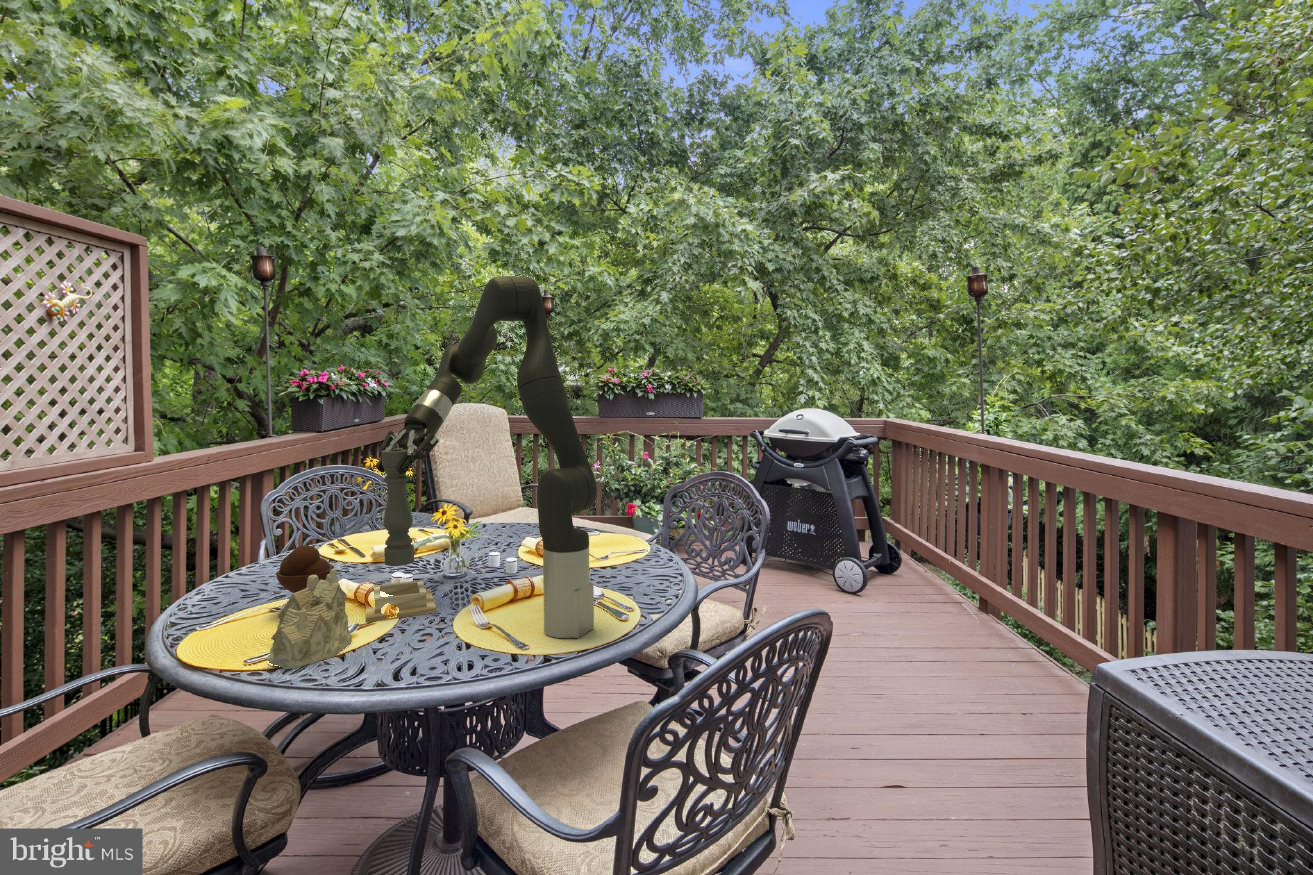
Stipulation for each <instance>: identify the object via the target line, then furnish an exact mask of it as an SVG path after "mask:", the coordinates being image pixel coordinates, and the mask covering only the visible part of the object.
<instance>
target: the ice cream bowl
mask: <svg viewBox="0 0 1313 875" xmlns="http://www.w3.org/2000/svg"><path fill="white" fill-rule="evenodd" d="M334 567H335V566H334V565H333V564H331V563H329V561H327V560H326V559H324V558H322V557H321V555H320V551H319V550H318V548H316V547H314V546H311V545H303V544H302V545H300V546H297V547H295V548H294V549H293V550H292V551H291V552H290V553H289V554H287V555H286V556H285V557H283V559H282V560H281V563H280V564H279V570H278V571H277V572H275V576H276V580H277V582H278V583H279V585H280V586H282V587H283V588H284V589H285V590H287V591H288V592H290V593H291V594H293V593H296V592H299V591H301V590H304V589H306V588H307V580H308V577H309V576H311V575H317V576H318V578H319V581H320V580H326V577H327V575H328V574H330V570H331V569H334Z"/></svg>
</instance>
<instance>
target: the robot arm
mask: <svg viewBox="0 0 1313 875" xmlns="http://www.w3.org/2000/svg"><path fill="white" fill-rule="evenodd" d="M500 321H501V322H522V323H523V325H524V329H525V334H526V347H525V351H524V355H523V357H522V359H521V362H520V365H519V368H518V372H517V375H516V385H517V386H516V387H517V391H518V394H519V397H520V398H519V399H520V401H521V405H522V409H523V411H524V414H525V416H526V417H527V418H528V419H529V421H530V422H531V424H532V425H533V426H534V428H536V430H537V431H538V432H539V433H540V434H541V435H542V436H543V437H544V439H545V440H546V441H547V442H548V444H549V445H550V447H551V448H552V450H553V452H554V454H555V457H556V459H557V462H558V463H557V464H558V466H559V468H553V469H548V470H546V471H544V472H543V473H542V474H541V475H540V477H539V480H538V483H537V486H536V487H537V488H536V489H537V490H536V491H537V492H536V501H537V502H536V503H537V505H536V506H537V514H538V518H537V520H538V529H539V533H540V537H541V540H542V556H543V557H542V558H543V559H542V560H543V562H542V564H543V565H542V566H543V567H542V568H543V569H542V570H543V574H542V576H543V578H542V579H543V582H542V583H543V631H544V633H545V635H547V636H548V637H552V638H557V639H570V638H574V639H579V638H581V637H582V636H584V635H585V634H587V633H589V632H590V631H592V630H594V628H595V622H594V620H595V617H594V616H595V614H594V613H595V607H594V606H595V605H594V598H595V597H594V594H595V593H594V592H595V591H594V590H595V588H594V587H595V586H594V583H593V582H590V535H589V533H588V532H587V531H586V530H584V529H581V528H579V527H578V528H577V527H575V526H574V523H573V521H574V520H573V513H577V512H582V511H586V510H588V509H591V508H592V507H593V506H594V505H595V503H596V500H597V496H598V487H597V481H596V477H595V473H594V472H593V469H592V467H591V464H590V462H589V459H588V457H587V455H586V451H585V449H584V447H583V444H582V441H581V439H580V436H579V433H578V430H577V427H576V423H575V420H574V418H573V414H572V410H571V406H570V404H569V399H568V395H567V390H566V388H565V384H564V381H563V378H562V375H561V372H560V369H559V366H558V362H557V359H556V355H555V351H554V348H553V344H552V340H551V336H550V330H549V325H548V321H547V315H546V310H545V304H544V299H543V296H542V293H541V289H540V287H539V285H538V283H537V281H536V280H535V279H534V278H532V277H529V276H515V275H514V276H512V275H510V276H509V275H508V276H507V275H500V276H495V277H492V278H490V279H489V280H488V281H487V283H486V284H485V286H484V288H483V290H482V293H481V296H480V298H479V302H478V304H477V307H476V310H475V313H474V317H473V320H472V323H471V325H470V327H469V328H468V330H467V331H466V332H465V334H464V336H463V337H462V339H461V340H460V342H459V344H456V343H455V344H451V345H449V346H448V347H446V348H445V349H444V351H443V353H442V355H441V358H440V361H439V366H438V370H437V372H436V374H435V376H434V378H433V379H432V381H431V383H430V384H429V386H428V387H427V389H426V390H425V391H424V392H423V393H422V394H421V396H419V398H418V399H417V401H416V402H415V404H414V405H413V407H412V408H411V409H410V410H409V412H408V414H407V415H406V416H405V418H404V419H403V420H404V422H403V423H404V426H403V427H402V429H400V430H399V431H398V432H394V431H393V430H389V431H388V433H387V434H386V435H385V438H384V439H383V440H382V441H383V442H382V443H381V444H380V447H379V449H378V451H379V452H380V453H381V454H382V451H383V450H392V449H407V450H408V451H407V456H404V458H403V459H402V461H401V462H400V463H399V465H398V466H397V471H398V472H399V473H400V474H403V475H404V474H405V473H406V474H407V472H408V471H409V470H410V468H411V467H412V466H413V464H414V463H415V462H417V461H419V460H421V461H423V460H425V459H426V457H427V456H428V455H429V454H430V453H431V452H432V450H434V448H435V447H436V446H437V444H438V443H440V440H439V438H438V437H437V436H436V435H437V433H438V431H439V430H440V428H441V427H442V425H444V424H443V423H444V422H445V421H446V420H447V418H448V416H449V415H450V412H451V410H452V409H453V407H454V406H455V404H456V402H457V401H458V399H459V397H460V396H461V395H462V392H463V388H462V385H461V383H460V381H462V382H463V383H465V384H468V385H469V384H472V385H473V384H476V383H477V382H479V381H480V380H481V378H482V376H483V375H484V372H485V368H486V362H487V359H488V357H489V355H490V354H491V353H492V352H493V350H494V349H495V347H496V346H497V342H498V332H497V329H496V326H495V324H496V323H498V322H500ZM456 378H457V379H458V380H457V379H456ZM459 380H460V381H459ZM398 445H399V446H398ZM422 451H423V452H422ZM375 469H376V470H377V471H378V472H379V473H386V472H385V471H384V467H383V466H382V457H380V459H379V461H378V462H377V463H376V466H375Z"/></svg>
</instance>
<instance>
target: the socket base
mask: <svg viewBox="0 0 1313 875" xmlns="http://www.w3.org/2000/svg"><path fill="white" fill-rule="evenodd" d="M380 590H381V591H383V592H385V593H386V594H389V595H393V596H388V597H381V596H380ZM373 596H374V599H375V609H374V608H372V607H370V606H368V605H366V604H365V622H366V623H371V622H370V621H373V622H379V621H378V620H380V621H385V620H384V619H387V620H389V619H388V618H387V617H389V616H390V615H384V614H382V613H381V608H382V607H383V606H384V605H385V604H387V603H389V604H393V605H394V606H397V607H398V608H399V612H398V613H397V618H396V619H401V618H407V617H408V618H409V617H415V616H422V615H429V614H436V613H437V606H436V602H435V600H434V596H433V594H432V591H431V589H430V588H429V589H426V587H425V584H424V581H423V579H421V580H411V581H402V582H396V583H387V584H376V585H373ZM391 615H392V616H394V614H391ZM395 615H396V614H395ZM392 616H391V617H392Z"/></svg>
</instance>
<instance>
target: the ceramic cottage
mask: <svg viewBox="0 0 1313 875" xmlns="http://www.w3.org/2000/svg"><path fill="white" fill-rule="evenodd" d="M337 572H338V569H336V568H333V569H331V570H330V574H328V575H327V577H326V580H320V581H319V578H318V576H317V575H311V576H309V577H308V580H307V588H306V589H304V590H301V591H299V592H296V593H291V594H290V595H291V596H290V597H289V598H288V601H286V602H287V603H286V604H285V605H284V606H283V608H282V609H281V610H280V611H279V613H278V614H277V617H278V619H279V621H278V622H279V623H278V624H277V626H276V628H277V629H276V631H275V632H274V634H272V636H271V638H270V640H272V641H273V642H272V646H271V647H270V649H269V654H270V655H269V654H268V656H267V657H266V661H269V663H271V664H273V665H278V666H280V667H282V668H281V669H284V670H294V669H298V668H302V667H304V666H307V665H312V664H315V663H317V662H320V661H324V660H327V659H329V658H332V657H334V656H335V655H337V654H339V653H340V651H341V652H343V651H344V650H346V649H347V648H348V647H349V646H351V645H352V643H353V640H352V635H351V633H350V630H349V629H350V628H349V619H348V618H349V615H348V614H347V612H346V600H347V597H348V595H347V593H346V592H345V591H344V590H343V589H342V587H341V586H340V584H341V583H340V582H339V578H338V574H337ZM351 642H352V643H351ZM350 644H351V645H350ZM348 645H349V646H348ZM347 646H348V647H347ZM346 647H347V648H346ZM345 648H346V649H345ZM343 649H344V650H343ZM280 667H279V668H280Z"/></svg>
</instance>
